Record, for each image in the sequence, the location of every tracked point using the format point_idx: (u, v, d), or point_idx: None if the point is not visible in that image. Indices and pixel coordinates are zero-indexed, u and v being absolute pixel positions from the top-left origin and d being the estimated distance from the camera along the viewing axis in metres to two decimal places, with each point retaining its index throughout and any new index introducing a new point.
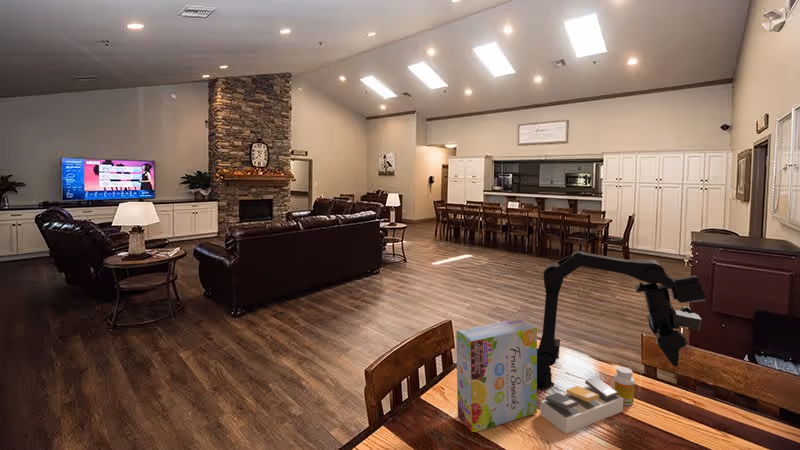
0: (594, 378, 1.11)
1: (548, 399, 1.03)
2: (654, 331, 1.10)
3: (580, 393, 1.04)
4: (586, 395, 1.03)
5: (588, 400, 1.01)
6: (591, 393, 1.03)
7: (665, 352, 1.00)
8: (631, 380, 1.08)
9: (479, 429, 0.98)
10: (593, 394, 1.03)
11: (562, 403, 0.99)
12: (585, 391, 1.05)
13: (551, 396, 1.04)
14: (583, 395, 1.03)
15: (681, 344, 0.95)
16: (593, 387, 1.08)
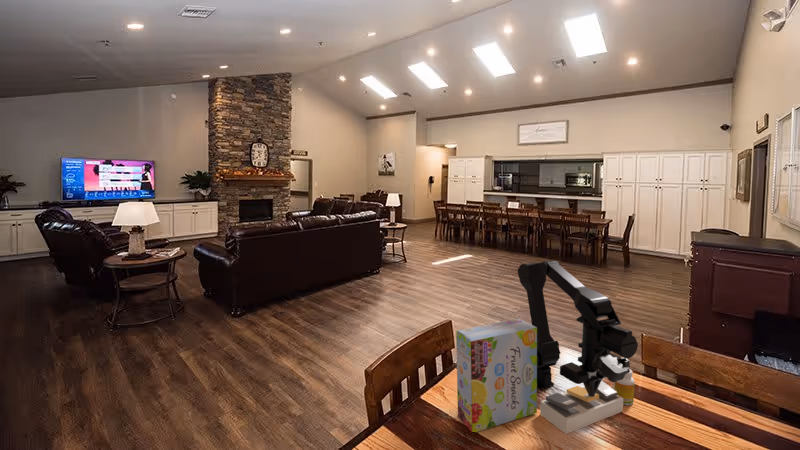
0: None
1: (548, 399, 1.03)
2: None
3: (580, 393, 1.04)
4: (586, 395, 1.03)
5: (588, 400, 1.01)
6: None
7: None
8: (631, 380, 1.08)
9: (479, 429, 0.98)
10: None
11: (562, 403, 0.99)
12: (585, 391, 1.05)
13: (551, 396, 1.04)
14: (583, 395, 1.03)
15: (573, 380, 0.96)
16: None
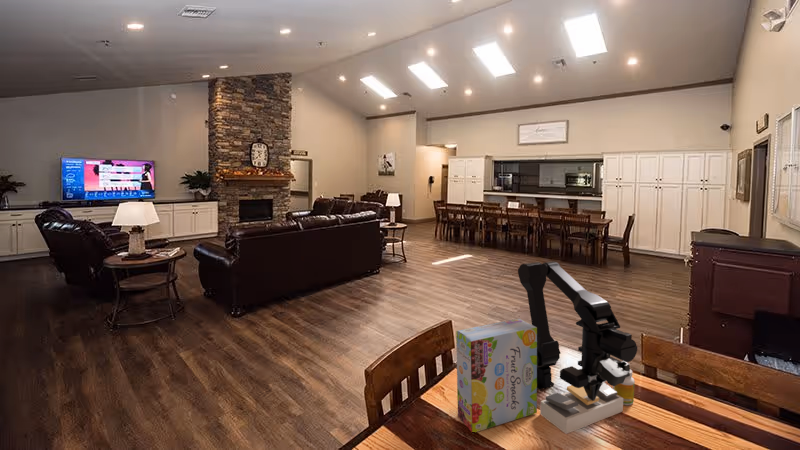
0: None
1: (548, 399, 1.03)
2: None
3: (581, 394, 1.04)
4: (587, 397, 1.03)
5: (588, 403, 1.01)
6: None
7: None
8: (631, 380, 1.08)
9: (479, 429, 0.98)
10: None
11: (562, 403, 0.99)
12: None
13: (551, 396, 1.04)
14: (583, 397, 1.03)
15: (573, 384, 0.96)
16: None
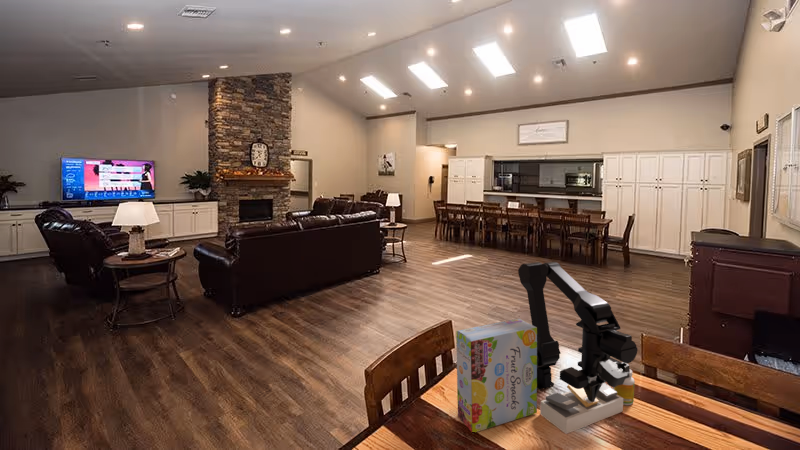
0: None
1: (548, 399, 1.03)
2: None
3: (581, 395, 1.04)
4: (587, 399, 1.03)
5: (587, 405, 1.01)
6: None
7: None
8: (631, 380, 1.08)
9: (479, 429, 0.98)
10: None
11: (562, 403, 0.99)
12: None
13: (551, 396, 1.04)
14: (583, 398, 1.03)
15: (573, 385, 0.96)
16: None
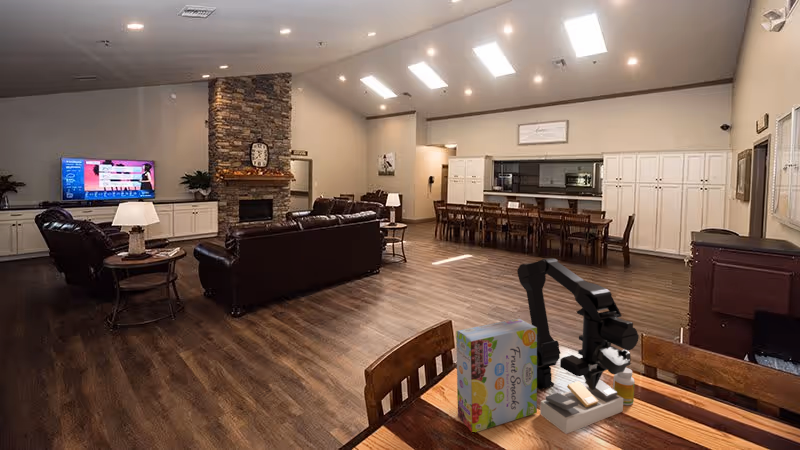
0: None
1: (548, 399, 1.03)
2: None
3: (581, 395, 1.04)
4: (587, 399, 1.03)
5: (587, 406, 1.01)
6: (591, 397, 1.03)
7: None
8: (631, 380, 1.08)
9: (479, 429, 0.98)
10: (593, 399, 1.03)
11: (562, 403, 0.99)
12: (585, 392, 1.05)
13: (551, 396, 1.04)
14: (583, 398, 1.03)
15: (574, 373, 0.96)
16: None
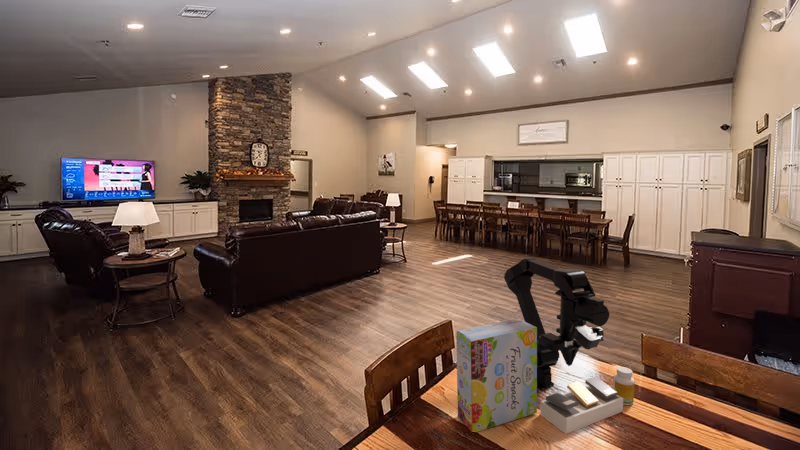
0: (594, 378, 1.11)
1: (548, 399, 1.03)
2: None
3: (581, 395, 1.04)
4: (587, 399, 1.03)
5: (587, 405, 1.01)
6: (591, 397, 1.03)
7: None
8: (631, 380, 1.08)
9: (479, 429, 0.98)
10: (593, 399, 1.03)
11: (562, 403, 0.99)
12: (585, 392, 1.05)
13: (551, 396, 1.04)
14: (583, 398, 1.03)
15: (550, 348, 1.02)
16: (593, 387, 1.08)
